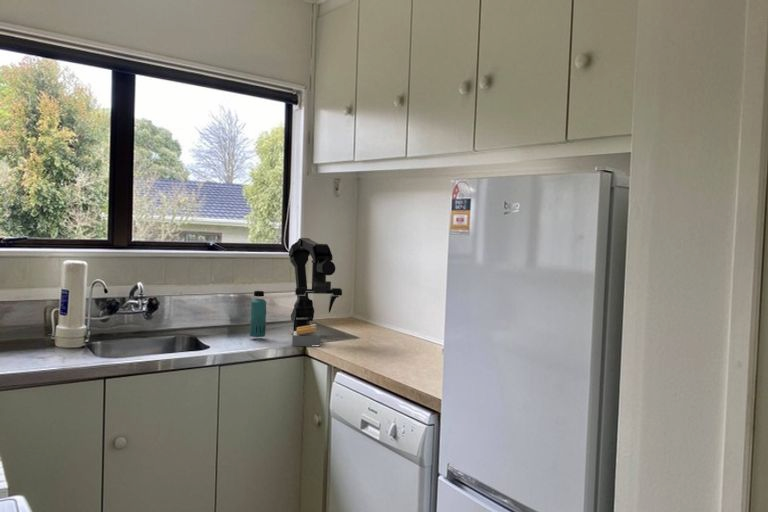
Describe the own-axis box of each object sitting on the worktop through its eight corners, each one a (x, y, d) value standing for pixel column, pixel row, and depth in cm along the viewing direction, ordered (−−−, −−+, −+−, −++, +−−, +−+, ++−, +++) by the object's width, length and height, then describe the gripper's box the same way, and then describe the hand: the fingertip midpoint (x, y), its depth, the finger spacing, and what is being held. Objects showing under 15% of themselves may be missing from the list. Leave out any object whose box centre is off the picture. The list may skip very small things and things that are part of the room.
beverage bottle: (254, 341, 232) (256, 291, 231) (246, 338, 237) (248, 290, 236) (268, 339, 237) (270, 291, 236) (260, 337, 242) (262, 289, 241)
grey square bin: (292, 345, 227) (292, 333, 226) (292, 340, 238) (293, 329, 237) (320, 346, 228) (320, 334, 228) (319, 341, 239) (320, 329, 239)
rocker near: (297, 334, 228) (296, 330, 228) (297, 333, 231) (296, 329, 231) (317, 331, 229) (316, 327, 229) (316, 329, 232) (316, 325, 232)
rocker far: (297, 332, 233) (296, 328, 233) (297, 330, 237) (296, 327, 237) (316, 328, 234) (316, 325, 234) (316, 327, 238) (316, 323, 238)
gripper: (296, 274, 225) (295, 314, 225) (344, 275, 229) (343, 314, 229) (295, 273, 236) (294, 311, 236) (341, 274, 240) (339, 312, 240)
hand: (317, 312), depth 235 cm, fingers open, 9 cm apart
